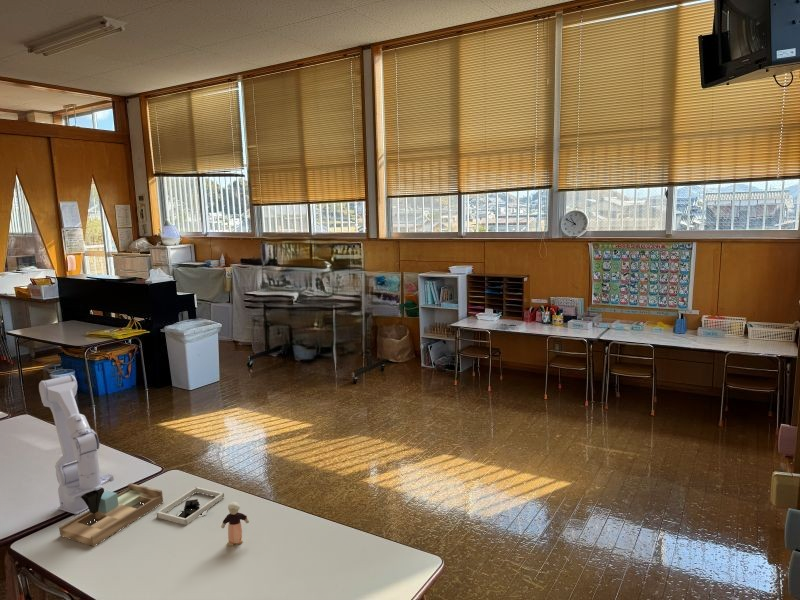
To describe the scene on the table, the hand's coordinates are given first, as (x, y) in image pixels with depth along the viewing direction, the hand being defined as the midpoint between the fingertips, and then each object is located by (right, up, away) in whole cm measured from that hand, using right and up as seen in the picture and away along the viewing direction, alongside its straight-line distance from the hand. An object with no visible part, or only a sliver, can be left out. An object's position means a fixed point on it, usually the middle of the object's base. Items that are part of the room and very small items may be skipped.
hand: (94, 511), depth 172 cm
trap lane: (+5, -3, +2) cm, 6 cm away
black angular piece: (+29, -3, +5) cm, 30 cm away
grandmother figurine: (+48, -5, -11) cm, 50 cm away
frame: (+27, -2, +8) cm, 29 cm away
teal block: (+2, -1, +5) cm, 5 cm away
